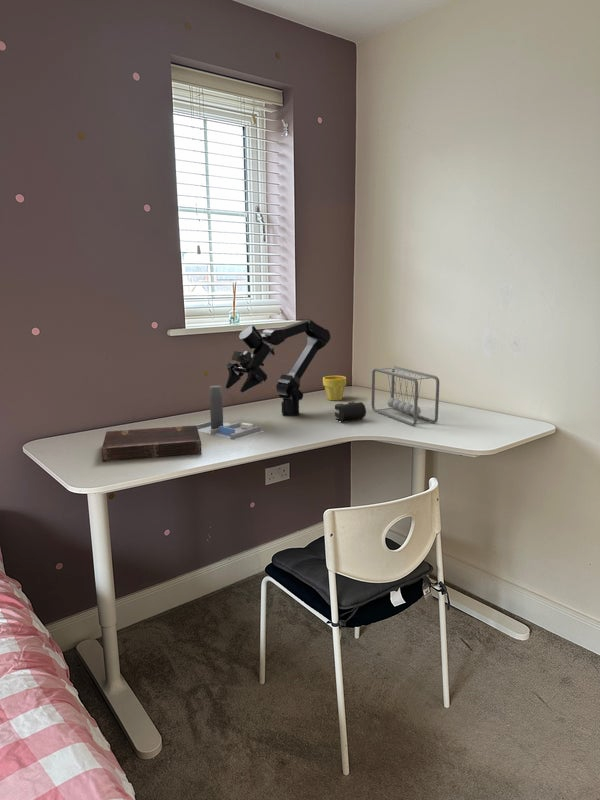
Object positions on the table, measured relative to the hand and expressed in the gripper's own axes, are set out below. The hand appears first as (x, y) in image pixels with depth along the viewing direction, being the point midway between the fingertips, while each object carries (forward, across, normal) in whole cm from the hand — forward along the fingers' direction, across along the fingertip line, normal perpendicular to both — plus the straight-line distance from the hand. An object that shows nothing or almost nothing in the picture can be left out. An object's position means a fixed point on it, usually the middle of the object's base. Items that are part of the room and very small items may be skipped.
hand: (233, 390), depth 207 cm
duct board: (+14, +5, +5) cm, 16 cm away
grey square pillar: (+14, 0, +4) cm, 15 cm away
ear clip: (+10, +8, +9) cm, 16 cm away
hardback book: (+36, +7, -15) cm, 39 cm away
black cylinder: (-16, +23, +36) cm, 45 cm away
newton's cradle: (-30, +33, +49) cm, 66 cm away
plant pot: (-33, -8, +52) cm, 62 cm away
